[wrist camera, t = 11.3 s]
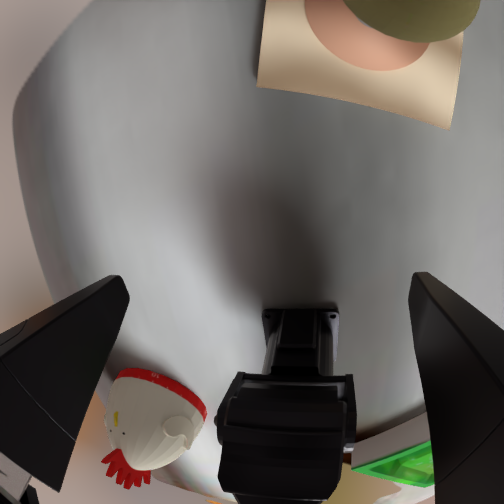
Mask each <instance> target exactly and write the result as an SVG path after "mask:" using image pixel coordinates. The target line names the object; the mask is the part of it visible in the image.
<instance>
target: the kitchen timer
mask: <svg viewBox="0 0 504 504" xmlns="http://www.w3.org/2000/svg"><path fill="white" fill-rule="evenodd" d="M206 415H207V411H206V407H205V405H204V404H203V402H202V401H201V399H200V398H198V397H197V396H196V395H195V394H194V393H193V392H192V391H191V390H189V389H187V388H186V387H184V386H183V385H181V384H180V383H178V382H176V381H174V380H172V379H170V378H168V377H166V376H164V375H161V374H158V373H155V372H153V371H150V370H144V369H139V368H127V369H124V370H122V371H120V373H119V374H118V376H117V378H116V379H115V381H114V383H113V385H112V387H111V390H110V393H109V397H108V403H107V410H106V414H105V416H104V422H105V425H106V428H107V434H108V438H109V441H110V444H111V446H112V449H113V450H114V451H112V452H111V453H110V454H108V455H107V456H106V457H105V458H104V459H103V460H102V461H101V462H102V463H105V464H107V463H109V462H111V463H110V465H109V468H108V470H107V473H106V476H108V477H112V476H113V475H114V474H115V473H116V472H117V471H118V473H117V478H116V483H117V484H120V485H121V484H122V483H123V481H124V480H125V481H124V488H126V489H130V487H131V486H132V484H133V482H134V486H137V487H140V486H141V481H142V477H143V479H144V483H146V484H150V477H151V471H150V470H152V469H156V468H160V467H162V466H165V465H167V464H169V463H171V462H172V461H174V460H175V459H177V458H178V457H179V456H181V455H182V454H183V453H184V452H185V451H186V449H187V450H189V449H190V447H191V445H192V442H193V441H194V440H195V438H196V437H197V435H198V434H199V432H200V430H201V428H202V426H203V424H204V421H205V418H206Z"/></svg>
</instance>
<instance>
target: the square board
mask: <svg viewBox="0 0 504 504" xmlns="http://www.w3.org/2000/svg"><path fill="white" fill-rule="evenodd" d="M462 43H463V31H462V32H461V33H459V34H457V35H456V36H454V37H451V38H449V39H447V40H442V41H437V42H431V43H415V42H410V41H405V40H400V39H396V38H394V37H391V36H388V35H385V34H383V33H381V32H379V31H377V30H375V29H373V28H370V27H367V26H365V25H364V24H362V23H361V22H360V21H359V20H358V19H357V18H356V16H355V14H354V13H353V12H352V11H351V10H350V9H349V8H348V7H347V6H346V5H345V3H344V2H343V0H266V7H265V15H264V24H263V33H262V42H261V50H260V59H259V68H258V78H257V87H262V88H271V89H279V90H286V91H293V92H300V93H306V94H312V95H318V96H324V97H329V98H334V99H339V100H344V101H349V102H353V103H358V104H362V105H366V106H370V107H374V108H378V109H382V110H386V111H389V112H393V113H397V114H400V115H403V116H407V117H410V118H413V119H417V120H420V121H423V122H426V123H429V124H432V125H435V126H438V127H441V128H443V129H446V130H450V125H451V120H452V115H453V110H454V104H455V99H456V92H457V86H458V79H459V72H460V63H461V54H462Z"/></svg>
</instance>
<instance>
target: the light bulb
mask: <svg viewBox="0 0 504 504" xmlns="http://www.w3.org/2000/svg"><path fill="white" fill-rule="evenodd" d="M343 2H344V3H345V5H346V6H347V7H348V8H349V9H350V10H351V11H352V12H353V13H354V14H355V16H356V18H357V19H358V20H359V21H360V22H361V23H362V24H364V25H365V26H367V27H370V28H373V29H375V30H377V31H379V32H381V33H383V34H385V35H388V36H391V37H394V38H396V39H400V40H405V41H410V42H415V43H431V42H437V41H442V40H447V39H449V38H451V37H454V36H456V35H457V34H459V33H461V32H462V31H464V30H465V29H466V28H467V27H468V26H469V25H470V24H471V22H472V21H473V19H474V18H475V16H476V14H477V11H478V9H479V5H480V0H343Z"/></svg>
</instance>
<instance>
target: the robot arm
mask: <svg viewBox="0 0 504 504" xmlns="http://www.w3.org/2000/svg"><path fill="white" fill-rule="evenodd" d="M129 301H130V297H129V293H128V291H127V288H126V286H125V283H124V281H123V279H122V277H121V276H119V275H109V276H107V277H105V278H103V279H101V280H99V281H97V282H95V283H93V284H91V285H90V286H88V287H86V288H84V289H82V290H80V291H78V292H76V293H74V294H73V295H71V296H69V297H67V298H65V299H63V300H61V301H59V302H58V303H56V304H54V305H52V306H50V307H48V308H47V309H45V310H43V311H41V312H39V313H38V314H36V315H34V316H32V317H30V318H29V319H27V320H25V321H23V322H21V323H20V324H18V325H16V326H14V327H12V328H11V329H9V330H7V331H5V332H3V333H1V334H0V504H39V501H38V497H37V493H36V489H35V488H33V487H32V486H31V485H29V482H30V480H31V478H32V476H33V477H35V478H36V479H38V480H39V481H41V482H42V483H44V484H45V485H47V486H48V487H50V488H52V489H53V490H55V491H57V492H58V493H59V492H60V490H61V487H62V483H63V480H64V477H65V473H66V470H67V467H68V464H69V461H70V457H71V454H72V451H73V449H74V446H75V443H76V442H75V441H76V439H77V436H78V433H79V431H80V428H81V425H82V422H83V420H84V417H85V414H86V411H87V409H88V406H89V404H90V401H91V399H92V396H93V394H94V391H95V388H96V386H97V384H98V381H99V379H100V376H101V374H102V371H103V369H104V367H105V364H106V362H107V360H108V357H109V355H110V353H111V350H112V348H113V346H114V343H115V341H116V339H117V336H118V333H119V330H120V327H121V324H122V321H123V319H124V316H125V313H126V310H127V307H128V304H129ZM408 304H409V311H410V318H411V325H412V333H413V341H414V349H415V354H416V359H417V364H418V368H419V373H420V378H421V383H422V388H423V394H424V400H425V405H426V412H427V418H428V425H429V432H430V440H431V449H432V459H433V470H434V484H435V504H504V330H503V329H501V328H500V327H499V326H498V325H497V324H495V323H494V322H493V321H492V320H490V319H489V318H488V317H487V316H485V315H484V314H483V313H482V312H480V311H479V310H478V309H476V308H475V307H474V306H473V305H471V304H470V303H469V302H467V301H466V300H465V299H464V298H462V297H461V296H460V295H458V294H457V293H456V292H454V291H453V290H452V289H450V288H449V287H447V286H446V285H445V284H443V283H442V282H441V281H439V280H438V279H437V278H435V277H434V276H432V275H431V274H430V273H428V272H415V273H414V274H413V276H412V281H411V286H410V291H409V297H408ZM266 314H269V316H268V315H266ZM332 314H335V315H332ZM262 320H263V327H264V333H265V340H266V346H267V350H266V355H265V360H264V365H263V369H262V374H250V373H245V372H238V373H237V375H236V377H235V379H233V381H232V383H231V385H230V387H229V389H228V391H227V393H226V395H225V397H224V399H223V401H222V402H221V404H220V406H219V408H218V411H217V415H216V416H215V418H214V424H215V425H216V426H217V438H218V441H219V444H220V445H222V454H221V460H220V466H219V471H218V480H219V482H220V485H221V488H222V490H223V491H224V492H228V493H232V494H233V495H234V497H235V499H236V501H237V502H238V504H321V503H322V501H326V500H328V498H329V497H330V496H331V494H332V493H333V492H334V490H335V489H336V487H337V484H338V483H339V481H340V478H341V470H342V462H343V453H352V451H353V448H354V444H355V436H356V423H357V411H356V400H355V391H354V382H353V374H345V376H333V362H334V361H335V360H336V354H337V341H338V327H339V311H338V310H336V309H265V310H264V311H263V313H262Z"/></svg>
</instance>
